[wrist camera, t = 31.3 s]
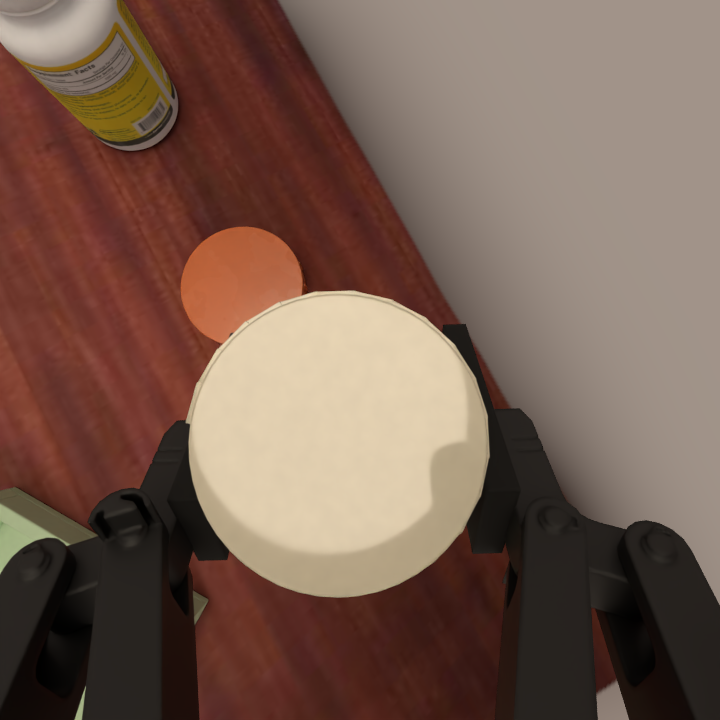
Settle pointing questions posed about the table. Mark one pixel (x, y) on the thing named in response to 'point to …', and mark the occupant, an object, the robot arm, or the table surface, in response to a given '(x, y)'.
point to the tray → (45, 535)
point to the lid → (238, 279)
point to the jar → (338, 443)
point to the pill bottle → (94, 66)
